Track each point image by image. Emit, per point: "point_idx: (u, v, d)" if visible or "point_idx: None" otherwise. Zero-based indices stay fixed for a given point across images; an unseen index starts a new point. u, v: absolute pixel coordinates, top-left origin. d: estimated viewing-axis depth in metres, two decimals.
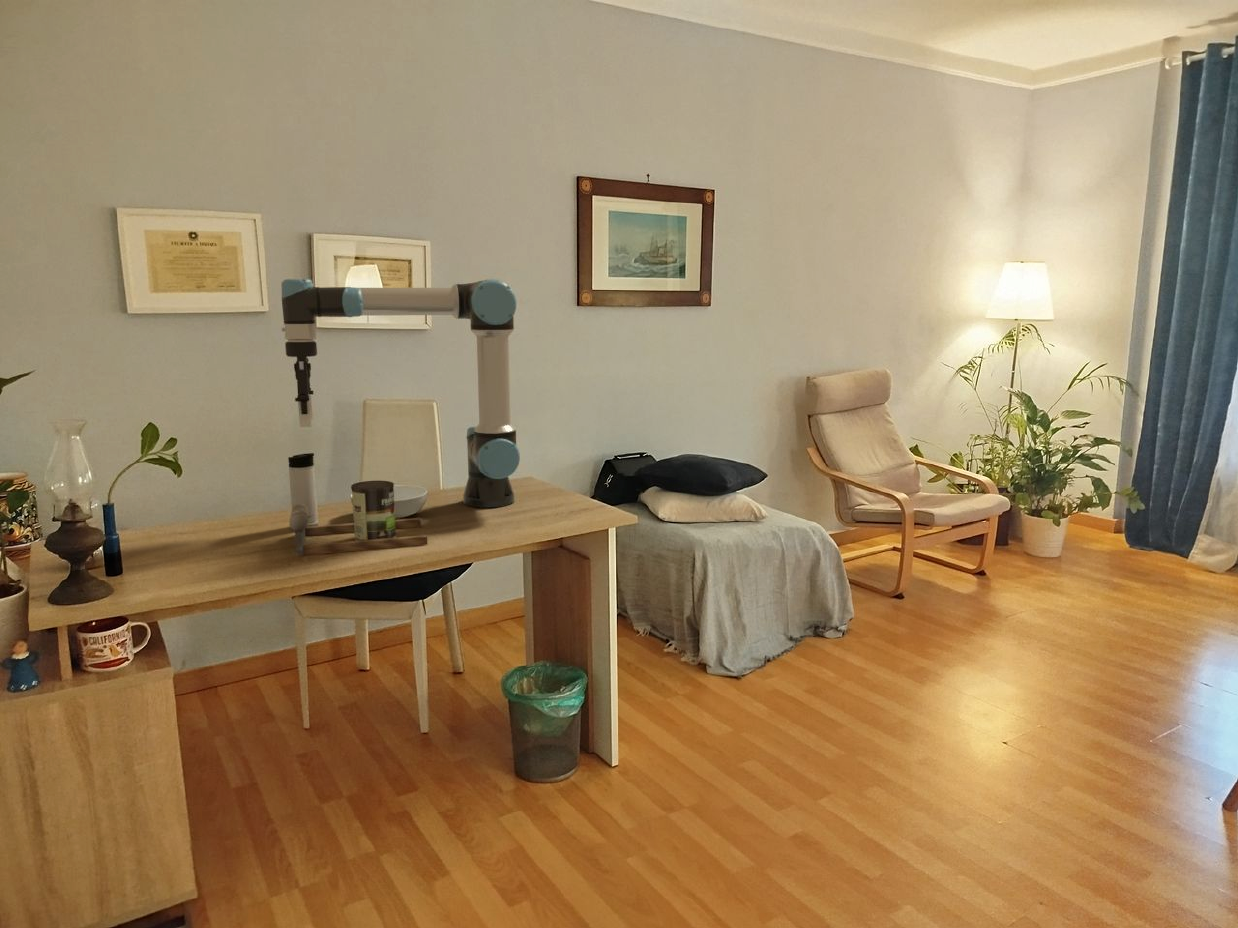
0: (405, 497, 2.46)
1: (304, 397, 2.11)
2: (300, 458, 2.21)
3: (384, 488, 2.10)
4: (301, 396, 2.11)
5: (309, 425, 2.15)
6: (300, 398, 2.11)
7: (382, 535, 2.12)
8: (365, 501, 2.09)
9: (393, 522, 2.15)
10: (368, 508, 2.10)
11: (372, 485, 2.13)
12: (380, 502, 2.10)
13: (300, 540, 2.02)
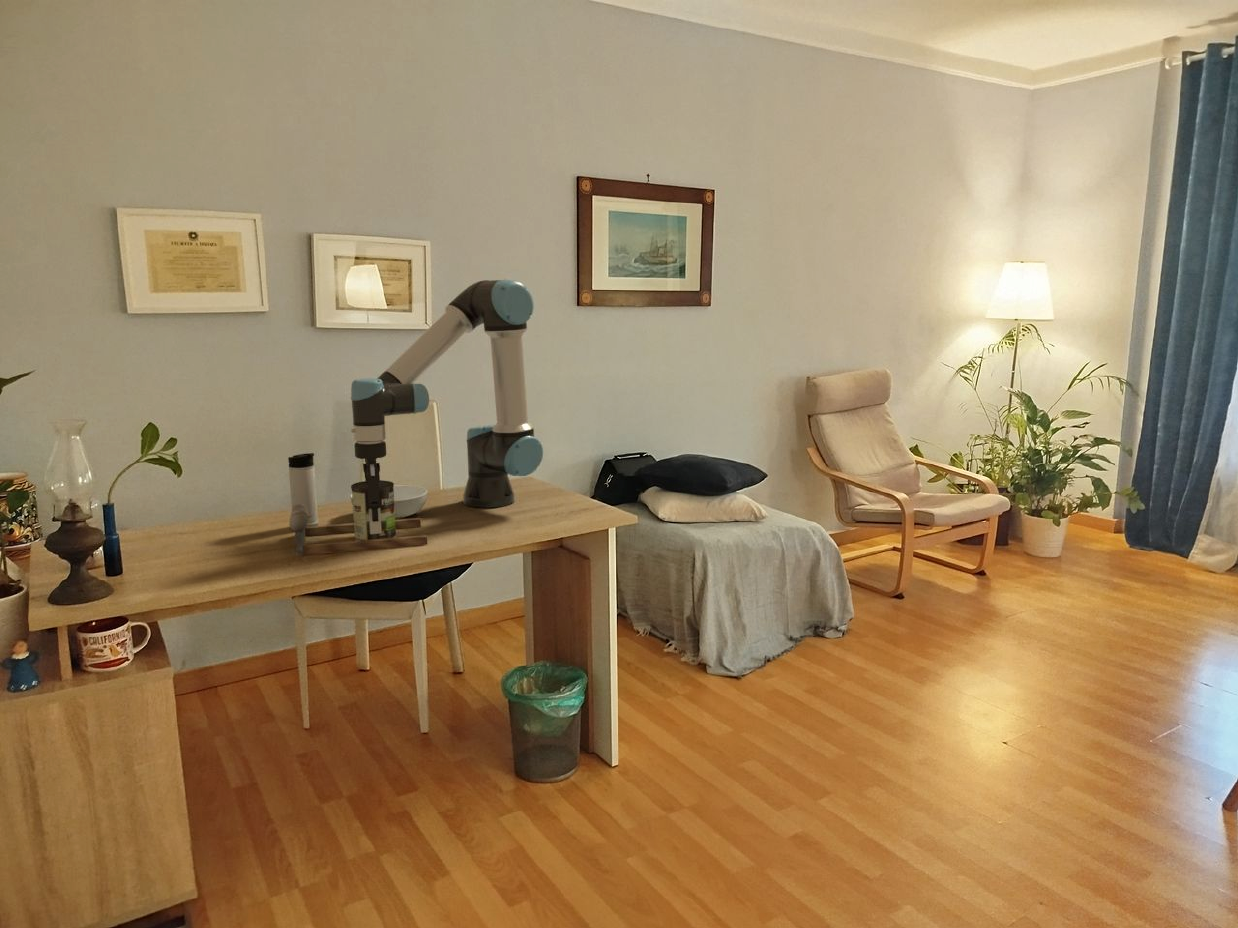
0: (405, 497, 2.46)
1: (376, 505, 2.06)
2: (300, 458, 2.21)
3: (384, 488, 2.10)
4: (373, 504, 2.06)
5: (379, 532, 2.11)
6: (372, 506, 2.06)
7: (382, 535, 2.12)
8: (365, 500, 2.09)
9: (393, 522, 2.15)
10: None
11: None
12: (380, 502, 2.10)
13: (300, 540, 2.02)
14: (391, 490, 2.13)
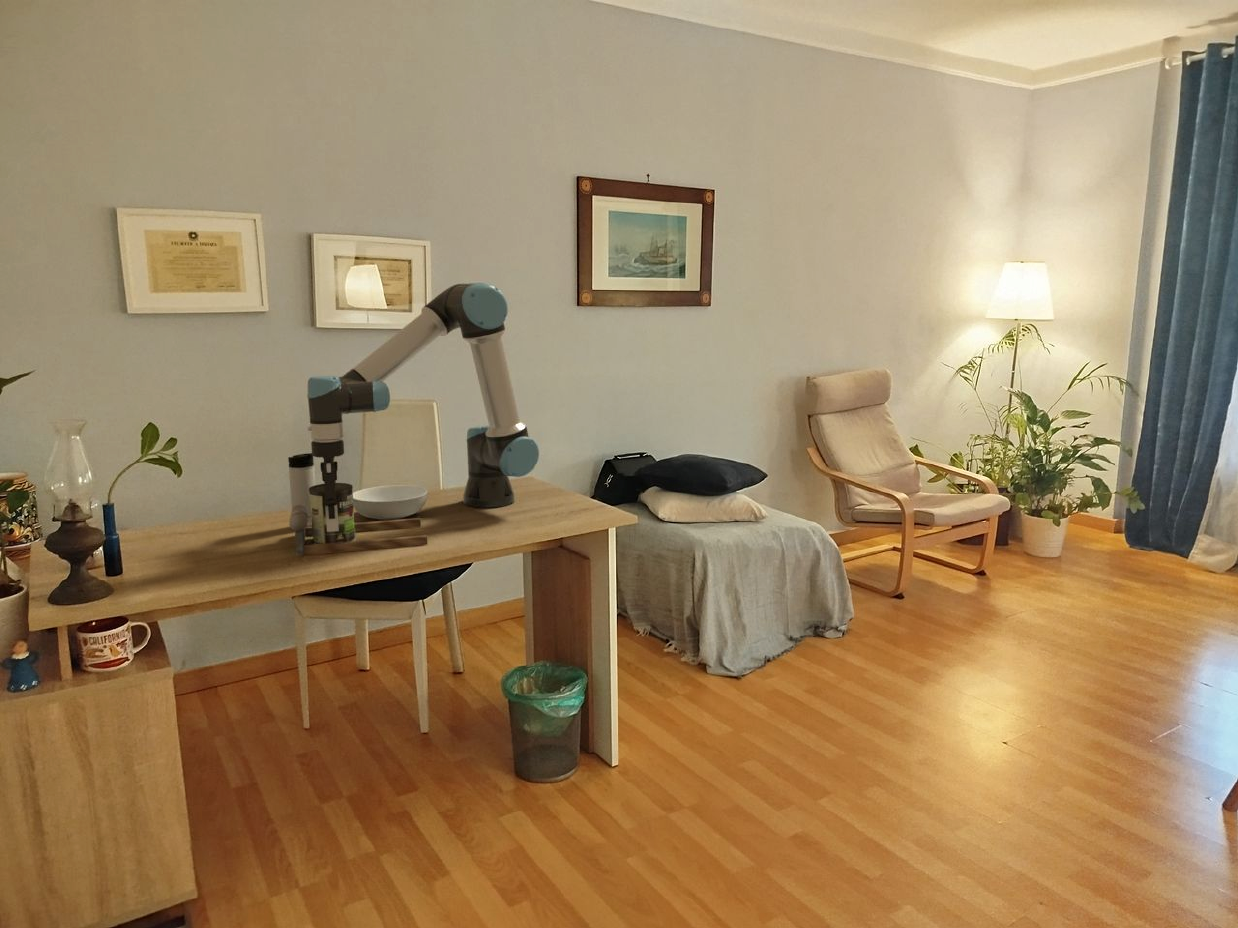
0: (405, 497, 2.46)
1: (332, 502, 2.02)
2: (300, 458, 2.21)
3: (342, 491, 2.08)
4: (329, 501, 2.02)
5: (336, 529, 2.06)
6: (328, 504, 2.02)
7: (340, 538, 2.09)
8: None
9: (352, 525, 2.12)
10: (325, 510, 2.07)
11: None
12: (338, 504, 2.08)
13: (300, 540, 2.02)
14: (350, 493, 2.10)
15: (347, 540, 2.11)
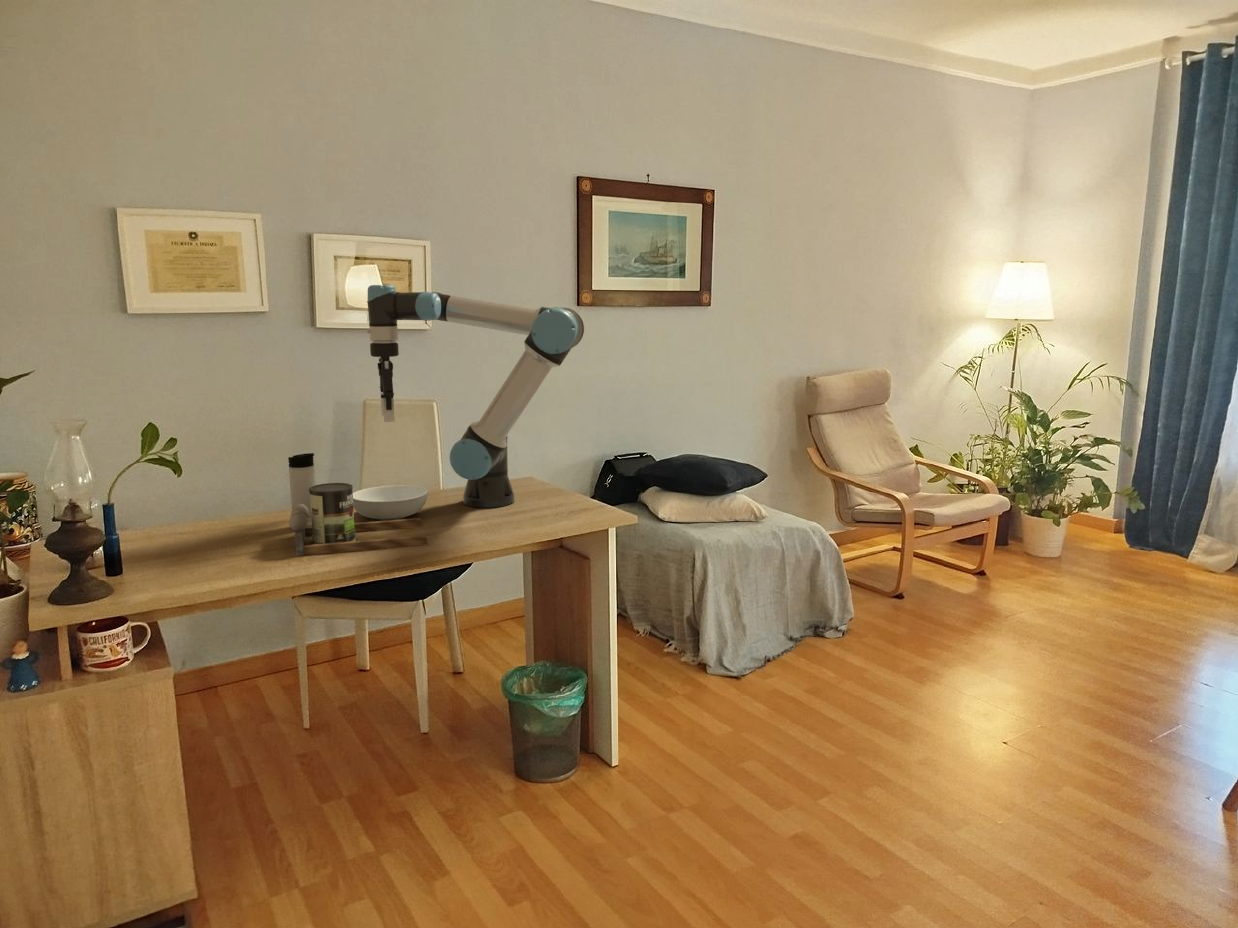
0: (405, 497, 2.46)
1: (390, 394, 2.28)
2: (300, 458, 2.21)
3: (342, 491, 2.08)
4: (387, 393, 2.28)
5: (393, 420, 2.33)
6: (386, 395, 2.28)
7: (340, 538, 2.09)
8: (322, 503, 2.07)
9: (352, 525, 2.12)
10: (325, 510, 2.07)
11: (330, 488, 2.10)
12: (338, 504, 2.08)
13: (300, 540, 2.02)
14: (350, 493, 2.10)
15: (347, 540, 2.11)
